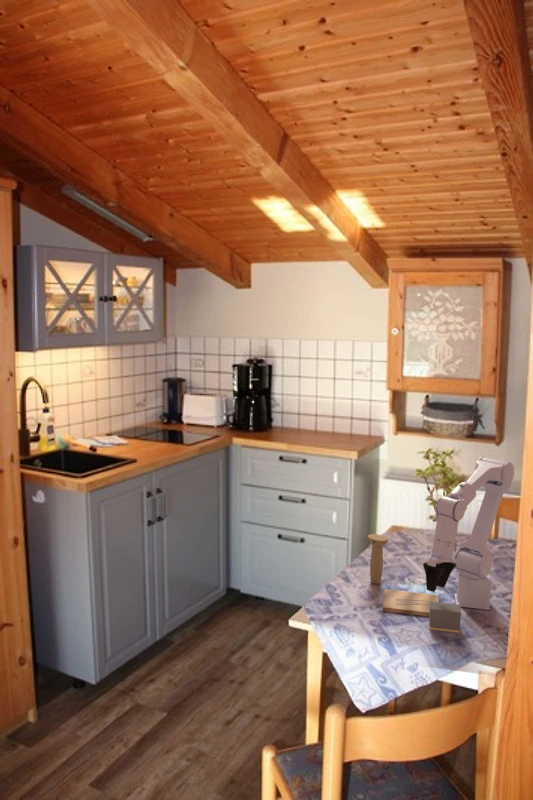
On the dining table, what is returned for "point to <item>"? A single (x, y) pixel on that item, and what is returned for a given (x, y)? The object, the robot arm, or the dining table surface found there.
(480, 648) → the dining table surface
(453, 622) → the block
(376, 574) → the handle
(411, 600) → the oak board
